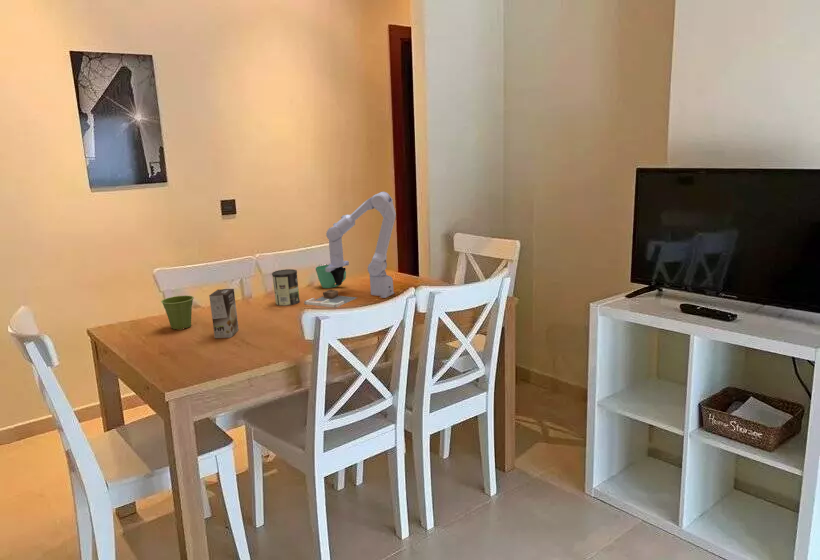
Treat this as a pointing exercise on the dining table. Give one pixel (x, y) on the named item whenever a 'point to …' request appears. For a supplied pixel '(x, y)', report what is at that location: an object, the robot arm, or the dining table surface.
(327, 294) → the token
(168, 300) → the plant pot
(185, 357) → the dining table surface
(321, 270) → the mug
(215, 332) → the coffee box
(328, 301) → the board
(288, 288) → the coffee can
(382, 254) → the robot arm
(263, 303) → the dining table surface
